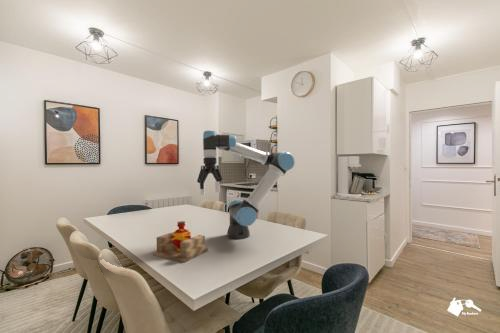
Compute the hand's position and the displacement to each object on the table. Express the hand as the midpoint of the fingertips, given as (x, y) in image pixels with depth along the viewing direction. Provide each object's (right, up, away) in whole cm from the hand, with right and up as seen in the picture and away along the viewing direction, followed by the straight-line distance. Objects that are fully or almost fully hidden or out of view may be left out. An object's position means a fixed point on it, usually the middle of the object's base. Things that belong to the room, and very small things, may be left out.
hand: (210, 193), depth 139 cm
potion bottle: (-14, -30, -11) cm, 34 cm away
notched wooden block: (-14, -31, -11) cm, 36 cm away
